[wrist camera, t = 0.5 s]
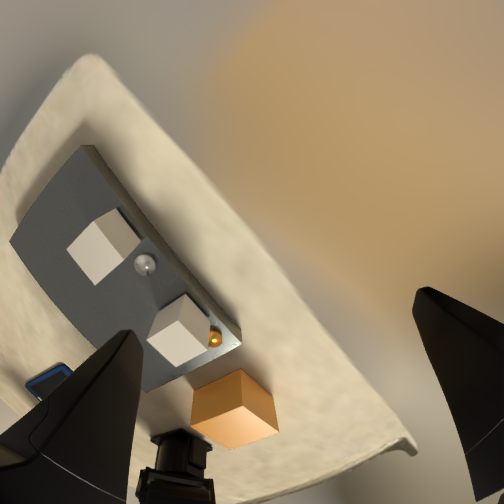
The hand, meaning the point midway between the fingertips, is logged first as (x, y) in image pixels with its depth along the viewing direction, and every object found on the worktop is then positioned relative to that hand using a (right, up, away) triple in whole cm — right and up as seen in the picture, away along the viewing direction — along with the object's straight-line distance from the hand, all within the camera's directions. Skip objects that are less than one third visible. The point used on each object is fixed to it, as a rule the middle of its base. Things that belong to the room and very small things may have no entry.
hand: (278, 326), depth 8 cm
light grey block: (-6, -3, +13) cm, 14 cm away
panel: (-12, -1, +14) cm, 19 cm away
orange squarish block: (-3, -13, +19) cm, 24 cm away
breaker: (-11, +3, +10) cm, 15 cm away
